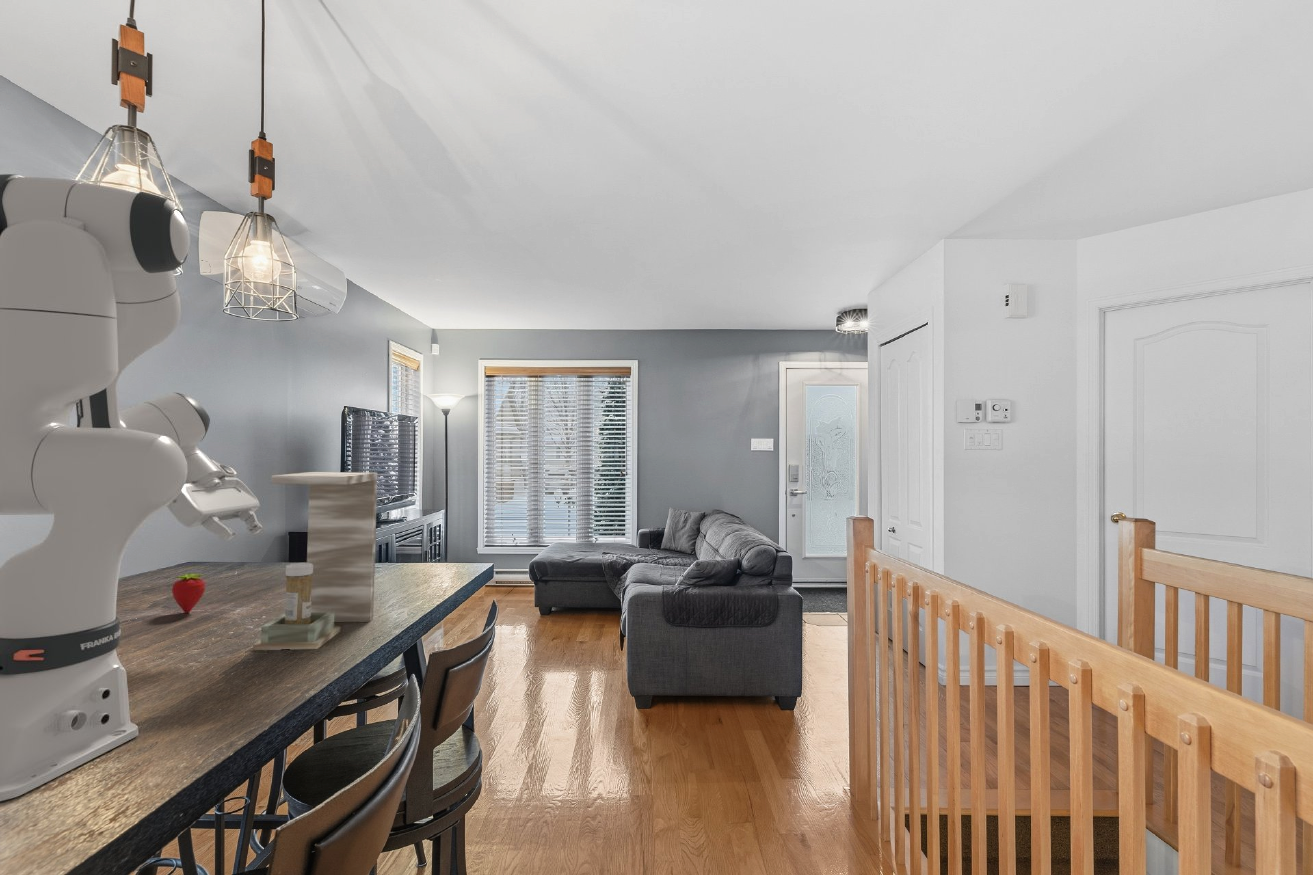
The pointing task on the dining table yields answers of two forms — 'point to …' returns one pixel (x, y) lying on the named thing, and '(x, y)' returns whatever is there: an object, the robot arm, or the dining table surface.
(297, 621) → the sprinkles bottle
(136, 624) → the dining table surface
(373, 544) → the awning socket
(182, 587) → the strawberry
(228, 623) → the dining table surface
